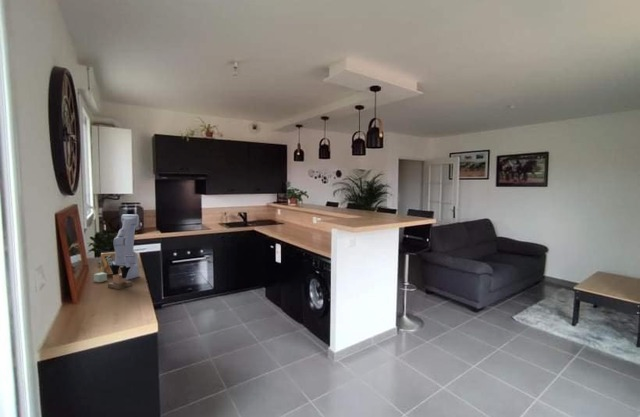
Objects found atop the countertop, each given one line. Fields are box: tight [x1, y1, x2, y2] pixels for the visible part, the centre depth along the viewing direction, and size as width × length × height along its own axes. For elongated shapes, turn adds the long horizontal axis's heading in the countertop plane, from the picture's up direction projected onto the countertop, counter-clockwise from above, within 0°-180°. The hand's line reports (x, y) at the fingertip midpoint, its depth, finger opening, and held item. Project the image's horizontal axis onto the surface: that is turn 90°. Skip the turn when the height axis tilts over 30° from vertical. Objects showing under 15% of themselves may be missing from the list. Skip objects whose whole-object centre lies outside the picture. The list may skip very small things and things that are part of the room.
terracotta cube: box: [112, 272, 127, 284], centre depth 191 cm, size 5×5×5 cm
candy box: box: [100, 251, 115, 276], centre depth 216 cm, size 9×4×15 cm, turn 129°
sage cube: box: [93, 271, 108, 283], centre depth 200 cm, size 5×5×5 cm
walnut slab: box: [107, 280, 133, 290], centre depth 191 cm, size 9×9×3 cm
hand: (120, 277), depth 191 cm, fingers open, 7 cm apart
